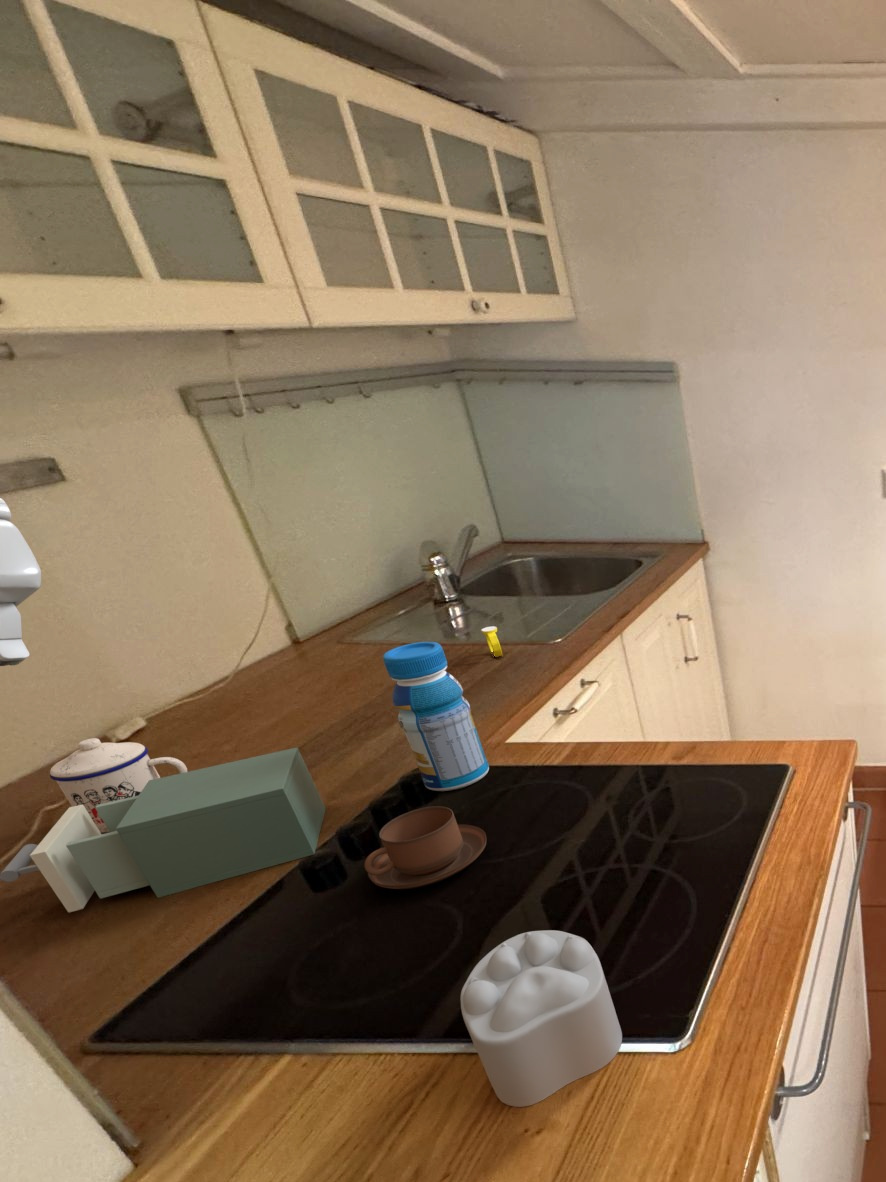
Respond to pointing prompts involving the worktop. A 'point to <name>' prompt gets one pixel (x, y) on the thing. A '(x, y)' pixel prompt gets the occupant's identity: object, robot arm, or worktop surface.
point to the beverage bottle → (435, 717)
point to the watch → (492, 640)
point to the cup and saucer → (423, 849)
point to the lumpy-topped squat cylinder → (540, 1015)
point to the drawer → (82, 857)
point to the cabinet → (223, 821)
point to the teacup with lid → (106, 774)
